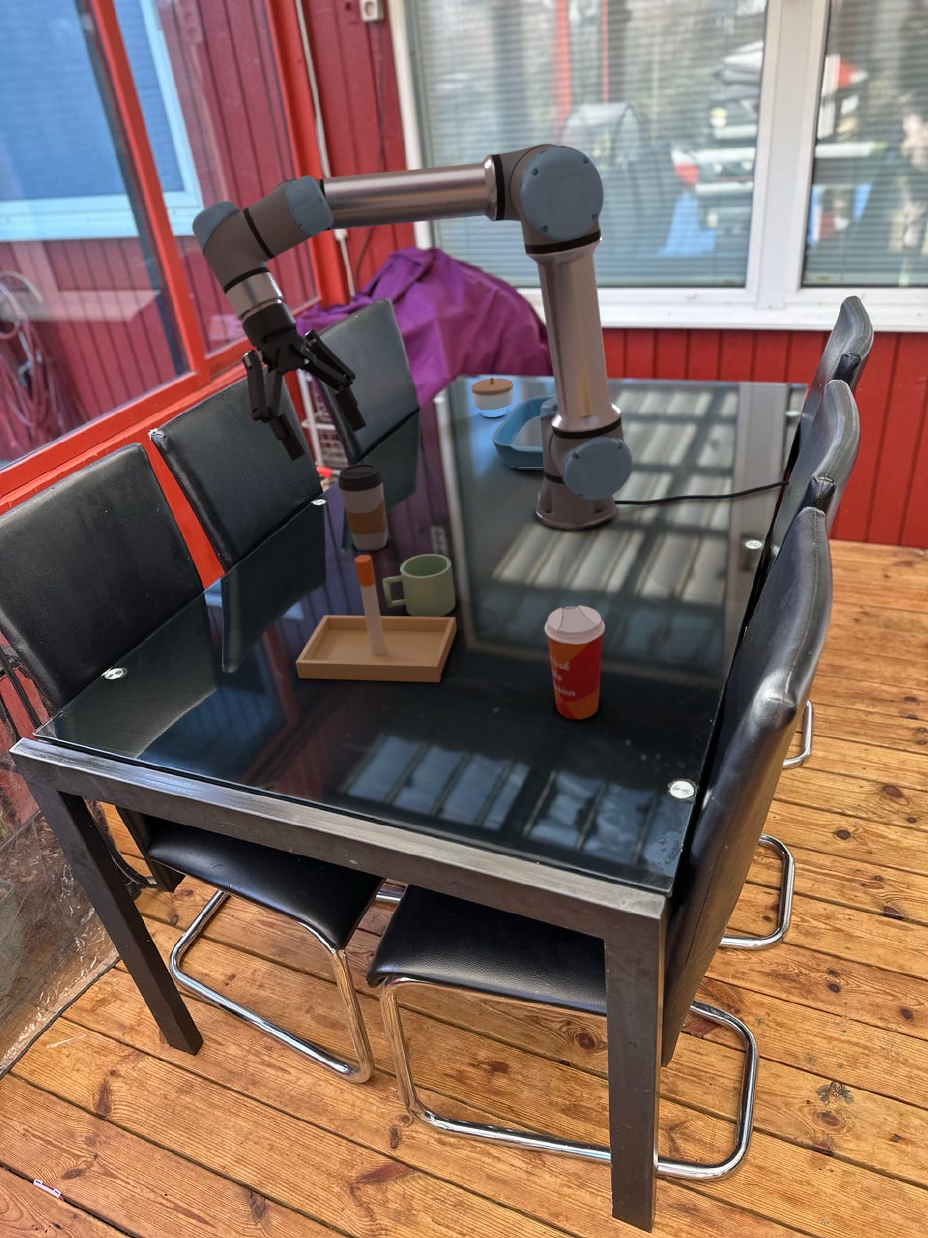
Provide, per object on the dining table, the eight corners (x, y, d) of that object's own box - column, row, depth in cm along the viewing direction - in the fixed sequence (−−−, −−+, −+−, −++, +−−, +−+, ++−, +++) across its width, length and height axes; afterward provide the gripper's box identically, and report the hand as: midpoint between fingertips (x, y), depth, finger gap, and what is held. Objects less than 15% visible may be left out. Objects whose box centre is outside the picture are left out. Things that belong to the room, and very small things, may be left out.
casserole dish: (583, 481, 186) (582, 449, 182) (482, 477, 193) (480, 446, 189) (615, 422, 215) (615, 393, 212) (527, 420, 222) (525, 392, 219)
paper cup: (544, 693, 123) (539, 607, 116) (599, 687, 123) (597, 600, 116) (554, 728, 116) (549, 638, 109) (611, 721, 117) (611, 631, 109)
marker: (388, 647, 136) (373, 554, 128) (384, 656, 134) (368, 562, 126) (373, 646, 137) (357, 554, 128) (369, 655, 135) (352, 562, 126)
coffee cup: (385, 554, 165) (374, 479, 157) (343, 554, 167) (330, 479, 159) (397, 534, 172) (387, 462, 164) (357, 534, 174) (344, 462, 166)
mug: (451, 592, 150) (446, 550, 146) (459, 616, 143) (454, 573, 139) (385, 603, 149) (379, 561, 145) (390, 628, 142) (383, 584, 138)
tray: (457, 632, 139) (455, 617, 138) (439, 682, 128) (437, 666, 126) (327, 629, 144) (324, 615, 142) (298, 678, 132) (295, 662, 131)
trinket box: (470, 421, 226) (467, 385, 221) (477, 408, 235) (474, 372, 230) (512, 420, 224) (509, 383, 219) (517, 406, 233) (515, 371, 228)
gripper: (308, 305, 143) (369, 425, 147) (184, 342, 126) (257, 477, 130) (334, 284, 137) (397, 410, 141) (209, 320, 120) (284, 462, 125)
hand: (330, 442), depth 136 cm, fingers open, 13 cm apart
